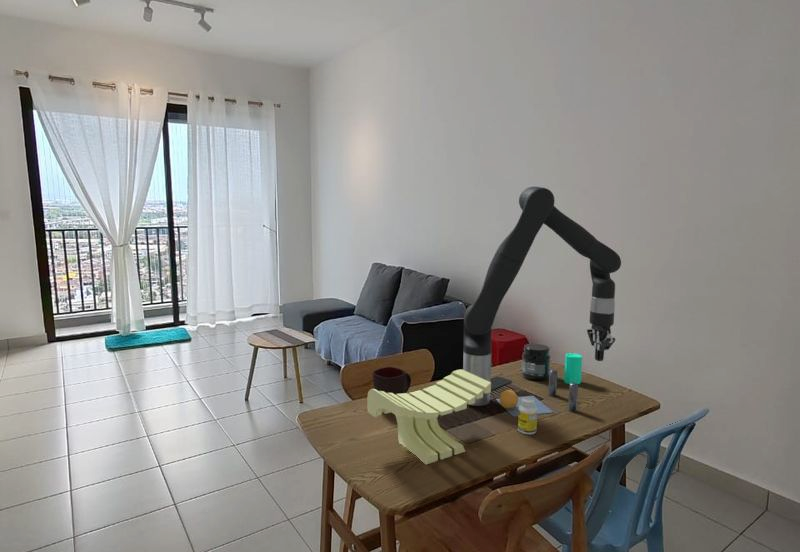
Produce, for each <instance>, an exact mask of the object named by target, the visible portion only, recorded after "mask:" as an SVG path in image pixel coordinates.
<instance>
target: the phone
mask: <svg viewBox="0 0 800 552" xmlns="http://www.w3.org/2000/svg"><path fill="white" fill-rule="evenodd" d="M490 382H491V392H493V391H495V390H498V389H500V388H501V387H504V386H507V385H510V384H511V383H513V380H511V379H508V378H505V377H502V376H494V377H491V380H490Z"/></svg>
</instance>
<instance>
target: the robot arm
mask: <svg viewBox="0 0 800 552" xmlns="http://www.w3.org/2000/svg"><path fill="white" fill-rule="evenodd" d="M518 204H519V207H520V209H521V210H522V212H521V214H520V216H519V218H518V220H517V223H516V224H515V226H514V228H513V229H512V230H511V231H510V233H509V234H508V235H507V236H506V237H505V238H504V240H503V241H502V242H501V243H500V245H499V246H498V247H497V249H496V251H495V253H494V255H493V257H492V259H491V262H490V263H489V266H488V269H487V270H486V271H487V272H486V275H485V277H484V281H483V285H482V288H481V290H480V293H479V295H478V296H477V298H476V300H475V302H474V303H473V304H471V305H469V306H467V308H466V310H465V311H464V315H463V355H462V356H463V358H462V359H463V360H462V362H463V363H462V365H463V366H462V370H464V371H466V372H469V373H471V374H473V375H475V376H478V377H480V378H482V379H484V380H487V381H489V382H490V380H491V378H492V377H491V375H492V370H491V369H492V346H493V345H492V327H493V325H494V322H495V318H496V316H497V314H498V313H497V312H498V311H499V308H500V306H501V304H502V301H503V299H504V297H505V296H506V294H507V292H508V291H509V289H510V288H511V286H512V284H513V283H514V281H515V279H516V277H517V275H518V273H519V271H520V270H521V268H522V266H523V264H524V261H525V259H526V258H527V255H528V253H529V251H530V250H531V248H532V245H533V243H534V240H535V239H536V237H537V235H538V233H539V232H540V230H541V228H542V227H543V225H546V227H548V228H549V229H550V230H552V231H553V232H554V233H555V234H556V235H558V236H559V238H561V239H562V240H563V241H564V242H565V243H566V244H568V245H569V246H570V247H571V248H572V249H573V250H574V251H576V252H577V253H578V254H579V255H581V256H582V257H585V258H587V259H588V260H589V270H590V278H591V281H592V282H591V283H592V287H591V299H590V307H589V323H590V324H591V328H590V329H587V330H586V333H587V335H588V338H589V341H590V345H591V346H592V347H593V349H594V353H595V354H594V360H596V361H597V362H603V360H604V359H605V356H604V355H605V351H608V350H610V348H611V347H612V345H613V344H614V343H615V342H616V338H615V337H612V335H611V334H612V331H611V327H612V326H613V325H615V324H614V321H615V311H616V310H615V309H616V308H615V307H616V302H615V301H616V300H615V294H616V283H615V281H614V280H613V279H612V278H611V275H610V274H611V273H612V274H614V273H615V272H617V271H618V270H619V269H620V268H621V265H622V260H621V256H620V255H619V254H618V253H617V252H616V251H615V250H613V249H612V248H611V247H609V246H608V245H606V244H604V243H603V242H601V241H600V240H598V239H597V238H596V237H595V236H594V235H592V233H590V232H589V231H588V230H587V229H586V228H584V227H583V226H582V225H581V224H579V223H578V222H577V221H575V220H573V219H572V218H570V217H568V216H567V215H565V213H564V212H562V211H560V210H559V209H558V208H557V207H556V205H555V196H554V194H553V192H552V191H551V190H550V189H548V188H545V187H543V186H542V187H541V186H529V187H526V188H525V189H524V190H523V191H521V193H520V195H519V198H518ZM490 400H491V392H490V393H486V394H485V393H483V398H479V399H477V398H475V403H473V404H468V403H467V406H472V407H473V406H474V407H475V406H476V407H482V406H486V405H489V404H490V403H491V401H490Z"/></svg>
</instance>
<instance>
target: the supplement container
mask: <svg viewBox="0 0 800 552" xmlns="http://www.w3.org/2000/svg"><path fill="white" fill-rule="evenodd" d="M550 350H551V349H550V346H548V345H546V344H541V343H527V344H524V347H523V351H524V352H523V353H522V355H521V356H522V366H521V367H522V368H521V375H522V376H523V377H524V378H525V379H527V380H529V381H530V380H531V381H537V382H540V381H541V382H542V381H546V380H549V373H550V370H551V358H552V357H551V354H550Z"/></svg>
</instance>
